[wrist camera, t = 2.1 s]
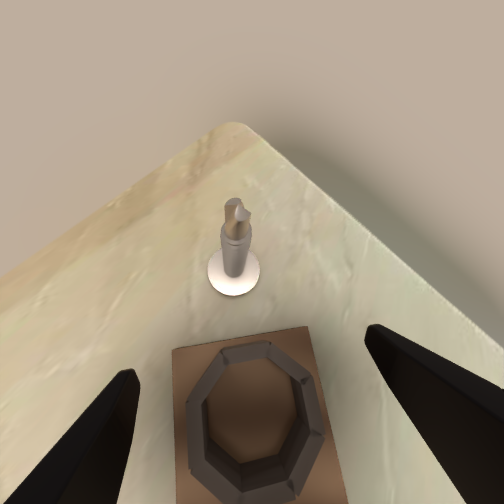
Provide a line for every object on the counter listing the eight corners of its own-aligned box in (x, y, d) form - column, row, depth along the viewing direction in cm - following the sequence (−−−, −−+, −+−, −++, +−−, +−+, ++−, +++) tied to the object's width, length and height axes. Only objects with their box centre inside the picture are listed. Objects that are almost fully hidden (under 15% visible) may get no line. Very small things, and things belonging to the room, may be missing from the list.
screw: (250, 304, 21) (202, 290, 21) (262, 259, 23) (218, 246, 23) (278, 268, 9) (165, 236, 9) (299, 177, 10) (204, 150, 10)
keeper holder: (342, 503, 16) (378, 557, 12) (182, 552, 15) (165, 634, 11) (303, 326, 21) (320, 325, 17) (175, 348, 19) (160, 353, 15)
